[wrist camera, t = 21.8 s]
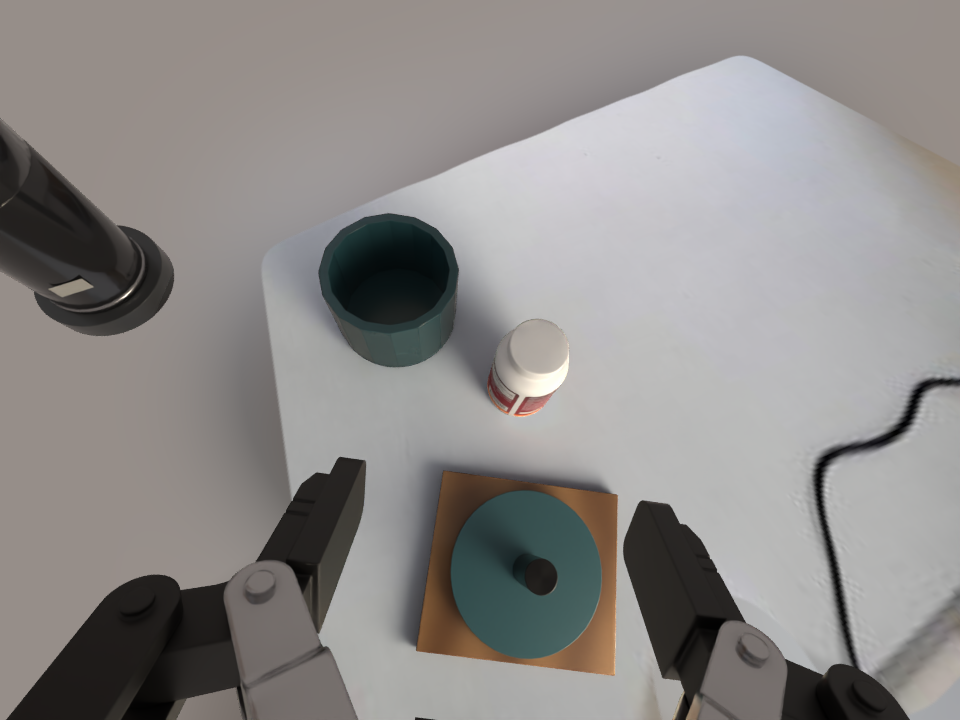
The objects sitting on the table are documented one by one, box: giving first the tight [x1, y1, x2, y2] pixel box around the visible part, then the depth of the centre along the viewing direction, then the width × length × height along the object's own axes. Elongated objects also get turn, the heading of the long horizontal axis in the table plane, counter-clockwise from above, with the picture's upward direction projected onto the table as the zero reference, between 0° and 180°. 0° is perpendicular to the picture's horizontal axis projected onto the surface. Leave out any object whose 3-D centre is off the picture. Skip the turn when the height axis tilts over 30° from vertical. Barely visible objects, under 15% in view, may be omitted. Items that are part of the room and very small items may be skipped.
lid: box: [450, 490, 602, 659], centre depth 35 cm, size 13×13×7 cm
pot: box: [319, 213, 459, 367], centre depth 42 cm, size 12×12×8 cm
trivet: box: [416, 471, 618, 676], centre depth 38 cm, size 16×14×1 cm
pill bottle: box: [488, 319, 569, 417], centre depth 39 cm, size 6×6×11 cm
